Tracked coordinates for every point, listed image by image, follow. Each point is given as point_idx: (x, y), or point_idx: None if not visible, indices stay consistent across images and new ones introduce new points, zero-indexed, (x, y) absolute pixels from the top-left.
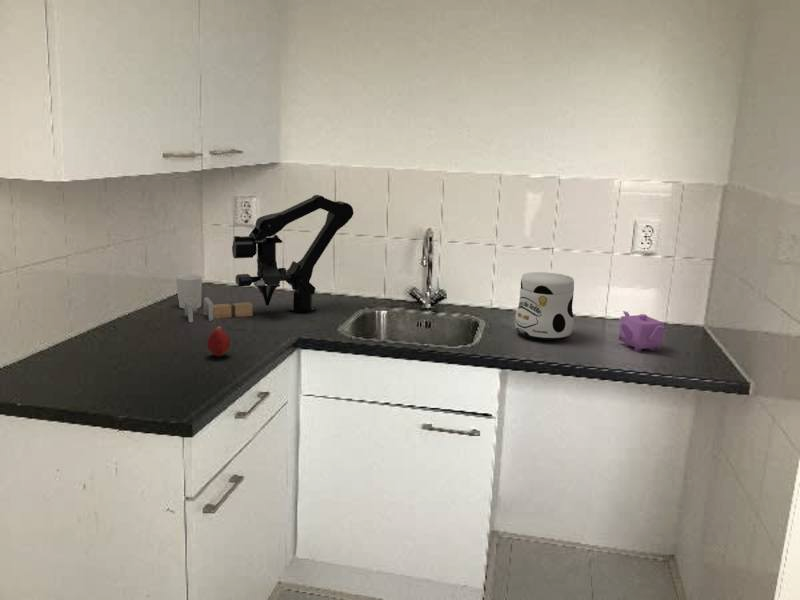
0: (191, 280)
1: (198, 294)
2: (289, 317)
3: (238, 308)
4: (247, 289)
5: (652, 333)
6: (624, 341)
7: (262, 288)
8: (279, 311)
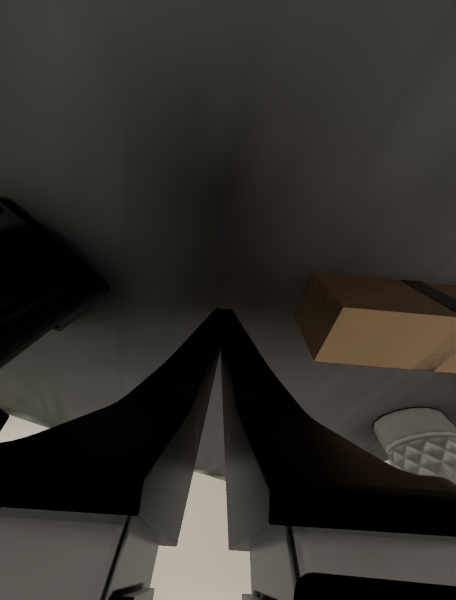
0: None
1: (445, 467)
2: (113, 139)
3: (426, 303)
4: (200, 463)
5: None
6: None
7: (336, 448)
8: (160, 299)
